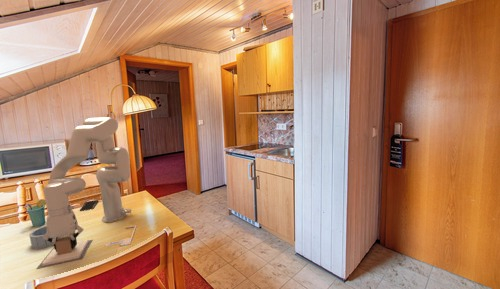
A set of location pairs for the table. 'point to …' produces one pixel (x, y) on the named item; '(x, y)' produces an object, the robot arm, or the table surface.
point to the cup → (37, 213)
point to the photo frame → (123, 240)
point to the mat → (67, 260)
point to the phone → (89, 205)
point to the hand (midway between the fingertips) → (66, 248)
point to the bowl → (39, 238)
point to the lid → (65, 251)
